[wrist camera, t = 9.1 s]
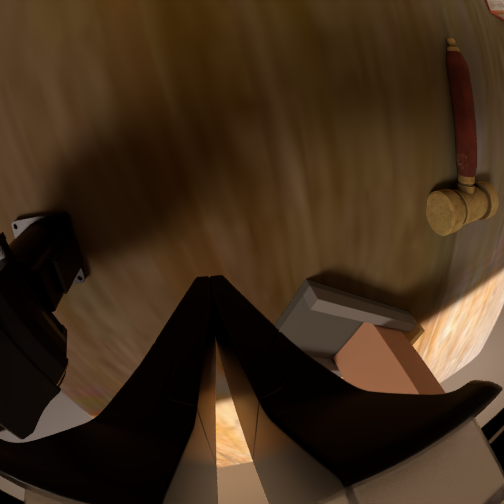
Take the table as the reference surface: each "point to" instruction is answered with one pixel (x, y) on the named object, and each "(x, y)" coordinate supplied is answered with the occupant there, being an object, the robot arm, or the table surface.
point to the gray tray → (337, 320)
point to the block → (384, 363)
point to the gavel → (461, 160)
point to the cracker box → (496, 8)
